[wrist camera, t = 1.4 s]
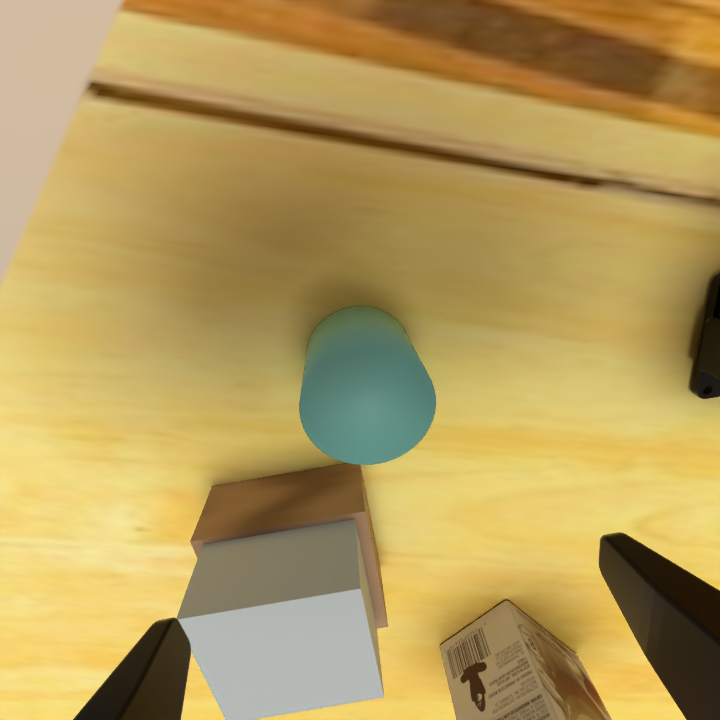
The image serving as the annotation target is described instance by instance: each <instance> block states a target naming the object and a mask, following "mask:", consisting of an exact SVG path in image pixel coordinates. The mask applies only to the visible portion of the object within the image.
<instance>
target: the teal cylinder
mask: <svg viewBox="0 0 720 720" xmlns="http://www.w3.org/2000/svg"><path fill="white" fill-rule="evenodd" d="M435 407H436V396H435V390H434V387H433V384H432V381H431V379H430V377H429V375H428V373H427V371H426V369H425V368H424V366H423V364H422V362H421V360H420V358H419V356H418V354H417V352H416V351H415V349H414V347H413V345H412V343H411V341H410V339H409V337H408V336H407V334H406V332H405V330H404V329H403V327H402V326H401V324H400V323H399V322H398V321H397V320H396V319H395V318H393V317H392V316H391V315H389V314H388V313H386V312H384V311H382V310H379V309H376V308H373V307H367V306H354V307H348V308H344V309H341V310H338V311H336V312H334V313H332V314H331V315H329V316H328V317H326V318H325V319H324V320H323V321H322V322H321V323H320V324H319V325H318V326H317V327H316V329H315V330H314V332H313V333H312V335H311V338H310V340H309V343H308V347H307V354H306V361H305V368H304V375H303V382H302V389H301V396H300V403H299V412H300V418H301V422H302V425H303V428H304V430H305V432H306V434H307V436H308V437H309V438H310V440H311V441H312V442H313V443H314V445H315V446H316V447H317V448H319V449H320V450H321V451H322V452H324V453H325V454H327V455H328V456H330V457H332V458H334V459H337V460H339V461H342V462H346V463H350V464H358V465H372V464H379V463H383V462H387V461H390V460H393V459H395V458H397V457H400V456H402V455H403V454H405V453H406V452H408V451H409V450H411V449H412V448H413V447H415V446H416V445H417V444H418V443H419V442H420V441H421V439H422V438H423V437H424V436H425V434H426V433H427V431H428V429H429V428H430V425H431V423H432V421H433V417H434V414H435Z"/></svg>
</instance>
